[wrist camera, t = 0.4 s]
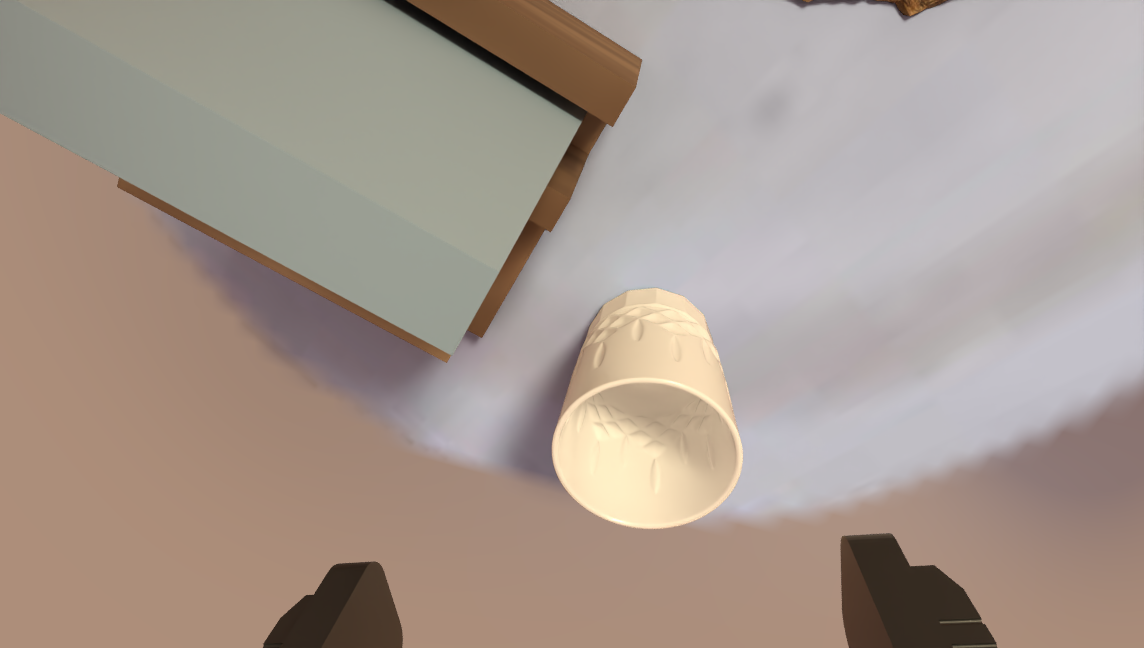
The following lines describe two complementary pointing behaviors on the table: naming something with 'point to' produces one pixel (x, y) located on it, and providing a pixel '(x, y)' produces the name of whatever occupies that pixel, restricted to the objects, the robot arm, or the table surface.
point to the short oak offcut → (281, 269)
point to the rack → (562, 63)
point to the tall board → (304, 134)
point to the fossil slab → (911, 5)
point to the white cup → (648, 416)
